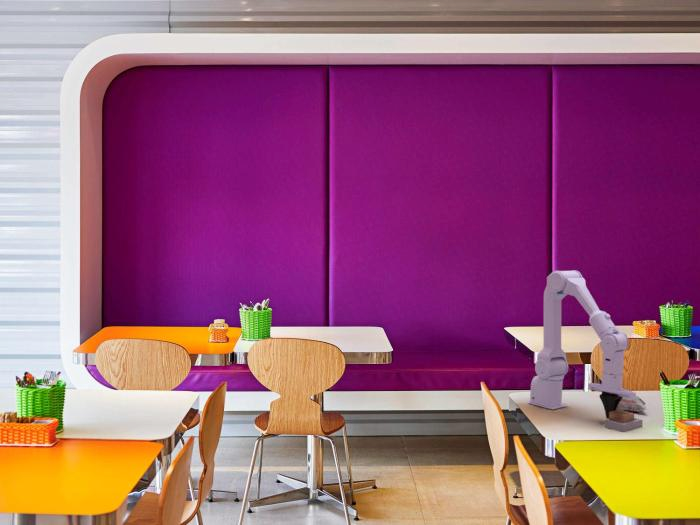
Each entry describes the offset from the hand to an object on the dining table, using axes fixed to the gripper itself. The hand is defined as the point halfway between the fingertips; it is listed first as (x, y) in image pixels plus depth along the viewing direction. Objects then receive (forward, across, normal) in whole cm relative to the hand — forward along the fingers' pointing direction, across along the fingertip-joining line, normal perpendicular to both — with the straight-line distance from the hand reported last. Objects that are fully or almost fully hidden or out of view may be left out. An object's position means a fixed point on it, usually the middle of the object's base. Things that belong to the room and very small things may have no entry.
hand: (609, 418), depth 227 cm
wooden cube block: (+1, -4, 0) cm, 4 cm away
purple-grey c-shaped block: (+1, -5, 0) cm, 5 cm away
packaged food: (+2, +6, -18) cm, 19 cm away
